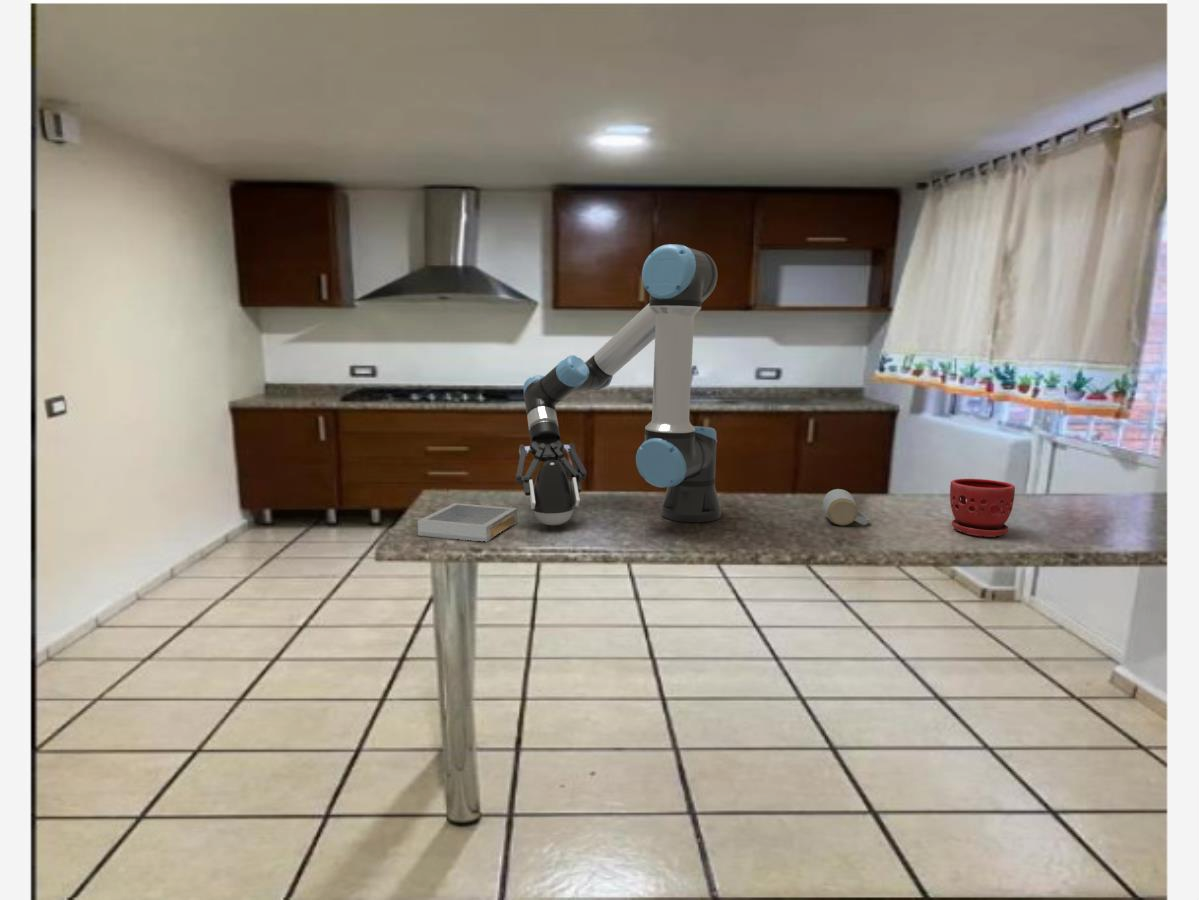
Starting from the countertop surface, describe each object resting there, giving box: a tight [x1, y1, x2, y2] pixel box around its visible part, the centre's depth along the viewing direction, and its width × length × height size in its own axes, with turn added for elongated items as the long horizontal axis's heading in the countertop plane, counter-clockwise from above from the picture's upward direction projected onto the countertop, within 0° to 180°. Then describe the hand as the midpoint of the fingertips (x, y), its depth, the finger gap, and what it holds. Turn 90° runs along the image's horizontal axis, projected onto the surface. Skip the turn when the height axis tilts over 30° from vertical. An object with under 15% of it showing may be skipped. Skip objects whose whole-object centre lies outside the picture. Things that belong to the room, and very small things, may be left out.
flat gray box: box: [417, 502, 518, 543], centre depth 156 cm, size 18×17×4 cm
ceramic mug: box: [822, 488, 870, 526], centre depth 163 cm, size 11×8×8 cm
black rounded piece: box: [531, 460, 576, 526], centre depth 158 cm, size 10×10×15 cm
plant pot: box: [949, 478, 1016, 538], centre depth 156 cm, size 13×13×12 cm
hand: (555, 504), depth 155 cm, fingers closed on black rounded piece, 10 cm apart
